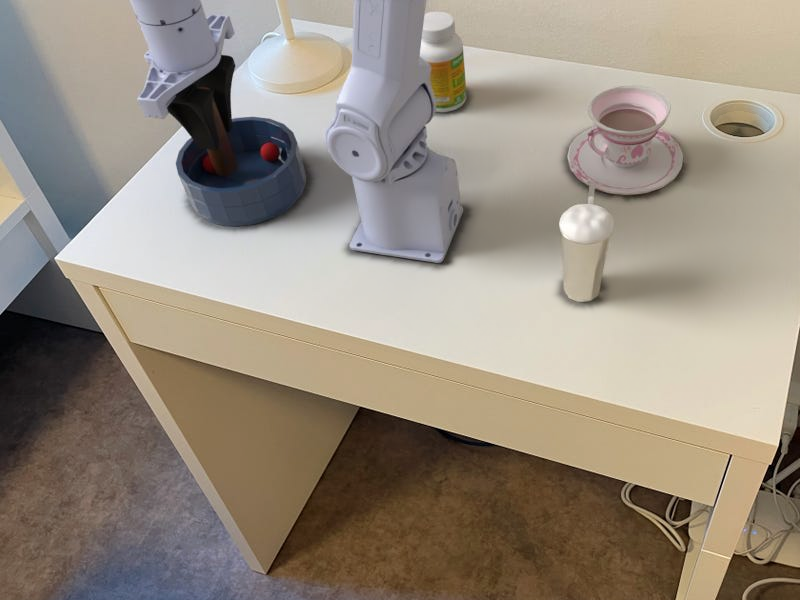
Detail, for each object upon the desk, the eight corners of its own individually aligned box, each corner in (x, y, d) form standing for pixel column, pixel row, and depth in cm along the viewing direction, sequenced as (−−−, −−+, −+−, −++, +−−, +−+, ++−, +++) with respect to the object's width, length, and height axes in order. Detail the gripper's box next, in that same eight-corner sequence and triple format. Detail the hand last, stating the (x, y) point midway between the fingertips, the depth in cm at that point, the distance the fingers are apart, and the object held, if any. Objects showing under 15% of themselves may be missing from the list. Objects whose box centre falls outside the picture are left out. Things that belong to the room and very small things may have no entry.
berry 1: (203, 149, 86) (211, 161, 88) (196, 164, 86) (204, 176, 87) (220, 151, 86) (228, 164, 88) (213, 166, 85) (220, 178, 87)
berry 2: (271, 152, 86) (277, 166, 88) (279, 139, 87) (285, 154, 89) (254, 150, 86) (261, 164, 88) (262, 137, 88) (269, 152, 89)
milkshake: (611, 269, 76) (619, 184, 68) (603, 311, 73) (611, 227, 65) (562, 263, 77) (566, 178, 69) (553, 304, 74) (555, 220, 66)
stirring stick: (242, 163, 86) (216, 88, 79) (232, 177, 85) (204, 102, 78) (221, 160, 87) (193, 85, 80) (211, 174, 85) (182, 99, 78)
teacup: (632, 112, 91) (638, 62, 86) (706, 167, 85) (717, 116, 80) (544, 152, 88) (545, 102, 83) (615, 213, 81) (620, 162, 76)
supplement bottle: (461, 115, 93) (454, 35, 85) (415, 112, 93) (404, 32, 86) (471, 88, 96) (465, 8, 88) (426, 85, 97) (417, 6, 89)
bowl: (323, 158, 89) (314, 123, 85) (278, 233, 82) (266, 199, 78) (222, 145, 91) (209, 111, 88) (169, 217, 84) (154, 183, 81)
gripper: (168, -34, 77) (212, 92, 88) (84, 49, 69) (145, 178, 79) (235, -28, 76) (272, 99, 86) (159, 57, 67) (210, 187, 78)
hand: (215, 137), depth 83 cm, fingers closed on stirring stick, 2 cm apart
